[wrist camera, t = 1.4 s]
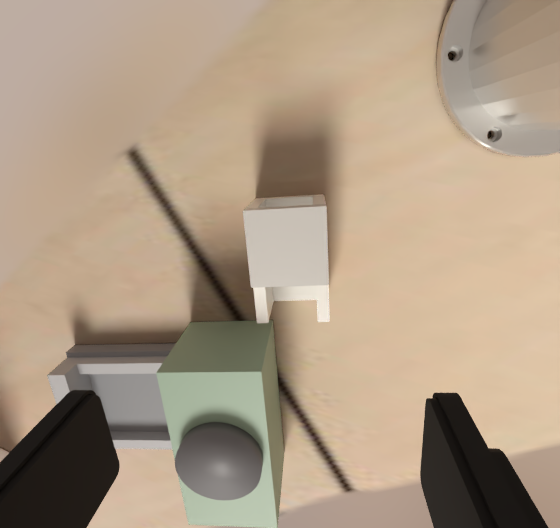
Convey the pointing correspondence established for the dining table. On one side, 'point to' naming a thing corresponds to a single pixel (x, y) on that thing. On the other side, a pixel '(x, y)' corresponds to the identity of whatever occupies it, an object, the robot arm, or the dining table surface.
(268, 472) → the toy coffee machine
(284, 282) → the white box on legs
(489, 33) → the robot arm
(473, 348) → the dining table surface
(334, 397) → the dining table surface
